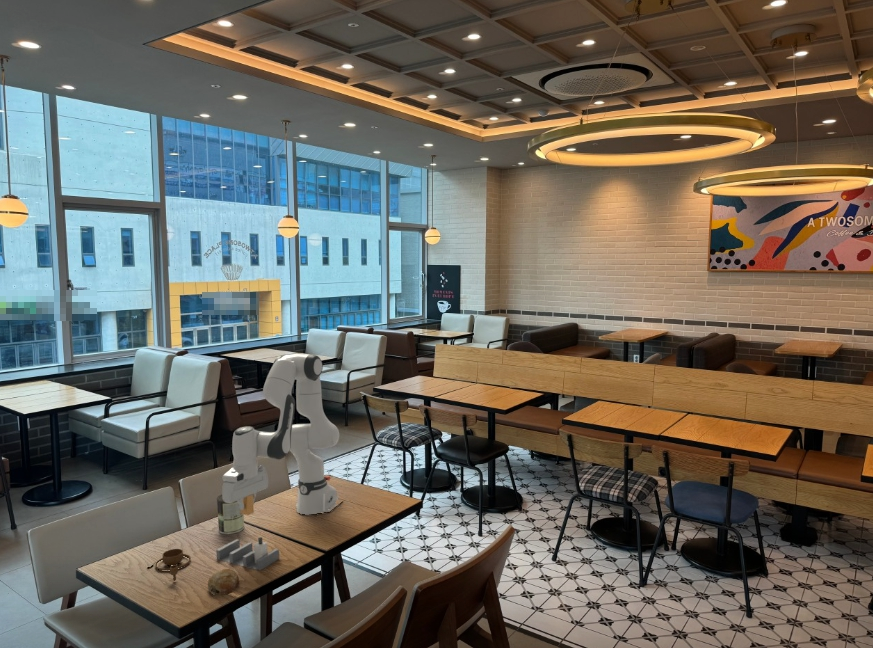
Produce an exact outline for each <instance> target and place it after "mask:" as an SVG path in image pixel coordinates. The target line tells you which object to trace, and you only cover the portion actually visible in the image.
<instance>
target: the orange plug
mask: <svg viewBox="0 0 873 648" xmlns="http://www.w3.org/2000/svg"><path fill="white" fill-rule="evenodd" d="M243 503H244V504H246V506H245V507H246V508H245V509H243V510H241V514H244V516H245V515H246V516H249V515H251V514H253V513H254V505H253V494H252V495H249V496H247V497H244V498H243Z"/></svg>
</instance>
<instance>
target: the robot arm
mask: <svg viewBox="0 0 873 648" xmlns="http://www.w3.org/2000/svg"><path fill="white" fill-rule="evenodd" d="M323 368H324V367H323V362H322V360H321V358H320V356H318V355H316V354H312V353H311V354H307V353H306V354H305V353H295V354H282V355H279V356H277V357H275V359H274V361H273V363H272V366H271V368H270V370H269V372H268V374H267V376H266V379H265V382H264V385H263V389H262V394H263V397H264V399H265V400H266V401H267V402H268V403H269V404H270V405H272V406H274V407H275V408H278V409H279V410H280V414H279V421H278V426H277V430H276V431H274V432H272V431H262V430H261V431H260V430H257V429H255V427H253V426H250V425H249V426H247V425H245V426H241V427H239V428H237V429H235V430H234V432H233V436H232V442H231V443H232V444H231V446H232V447H231V450H232V455H233V462H232V467H231V468H230V469H229V470H228V471H226V472H225V473H224V474H223V475H222V477H221V478H222V481H224V482H223V484H222V486H221V493H222V494H221V495H222V498H223V501H224V502H226V503H233V502H235V501H237V502H238V504H239V508H240V509H241V510H243V509H245V508H246V507H245V506H246V504H244V503H243V498H244V497H247V496H249V495H252V494H253V506H254V505H255V500H256V498H257V493H259V492H262V491H263V490H266V489H267V488H268V487H269V478H268V473H267V468H266V466H265V465H264V464H261V465H258V458H257V457H259V458H268V459H274V460H278V461H280V460H283V458H285V457H286V456H287V455H288V454H289V452H291V454H292V455H293V456H294V459H296V463H297V468H298V469H297V470H298V480H297V482H298V483H297V485H298V486H297V487H298V490H297V500H296V504H295V508H296V512H297V513H298V514H299V513H300V515H302V514H305V515H304V516H310V515H309V514H316V513H321V512H329V511H331V510H332V509H333V508H334V507H335V506H336V505H337V504H336V503H335V502H336V500H338V497H339V496H338V491H337V489H336V488H335V487H333V486H332V485H330V484H328V482H327V481H330V480H331V476H330V475H325V464H324V463H325V462H324V461H323V458H321V457H320V456H319V455H317V454H314V453H313V452H312V451H311V449H326V448H327V449H328V448H332V447H335V446H336V445H337V444H338V442H339V441H340V431H339V428H338V427H337V426H336V425H335V424H334V423H332V422H331V421H330V420H329V419H328V417H327V416H326V414H325V412H324V408H323V399H322V398H323V396H322V393H323V392H322V383H321V378H320V376H321V374H322V372H323ZM295 380H296V384H295V386H296V389H295V396H296V397H294V396H293V395H292V389H293V387H294V383H295ZM295 398H296V400H295ZM295 409H296V410H295ZM295 411H297V412H298V414H300V415H301V416H303V417H306V418H307V419H308V420H309V421H310V423H296V424H293V422H294V417H295ZM328 509H330V510H328ZM332 511H333V510H332ZM332 511H331V512H332Z"/></svg>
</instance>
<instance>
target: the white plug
mask: <svg viewBox="0 0 873 648" xmlns="http://www.w3.org/2000/svg"><path fill="white" fill-rule="evenodd" d="M253 550H254V556H255V563H257V562H256V560H257V559H259V558H261V557H262V556H264V555H266V554H267V553H269V552H268V542H265V541H263V537H262V536H261V537H258V540H257V542H256V543H253Z"/></svg>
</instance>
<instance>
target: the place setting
mask: <svg viewBox="0 0 873 648" xmlns="http://www.w3.org/2000/svg"><path fill="white" fill-rule="evenodd" d="M183 556H185V557H187V558H189V561H188V560H187V561H186V562H185V563H183V564H181V565H179V564H180V563H181V562H182V561H183V559H184V558H183ZM161 560H163V562H162V564H164V565H165V566H168V565H169V566H168V568H163V567H160V566H158V567H157V563H158V562H159V561H161ZM156 561H157V562H156V563H154V566H155V568H156V570H158V569H160V570H170V571H169V572H170V575H171V576H172V577H173V578H172V580H173V581H175V580H176V581H177V576H176V575H177V574H178V572H179V570H178V568H181V567H183V568H185V567H187V566H188V565H189V564H190V563H191V556H190V555H189V554H187V553H184V551H183V549H181V548H172V549H168V550H166V551H165V552H163V553H162V557H161V558H160V559H158V560H156ZM189 562H190V563H189ZM178 563H179V564H178ZM176 564H178V565H179V566H178V565H176ZM187 564H188V565H187ZM171 565H173V566H171ZM186 565H187V566H186ZM170 566H171V567H170ZM184 566H185V567H184ZM181 569H182V568H181Z"/></svg>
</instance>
